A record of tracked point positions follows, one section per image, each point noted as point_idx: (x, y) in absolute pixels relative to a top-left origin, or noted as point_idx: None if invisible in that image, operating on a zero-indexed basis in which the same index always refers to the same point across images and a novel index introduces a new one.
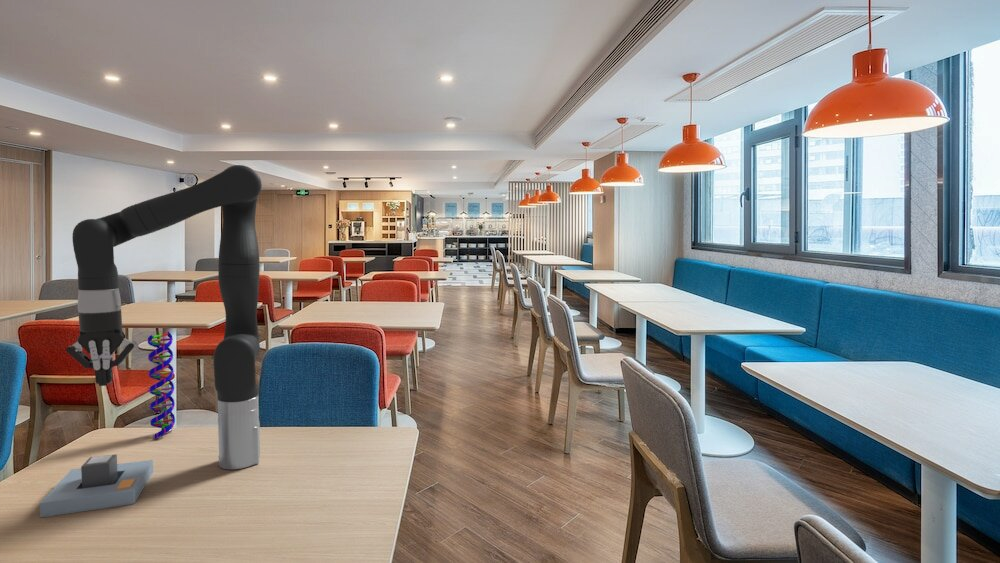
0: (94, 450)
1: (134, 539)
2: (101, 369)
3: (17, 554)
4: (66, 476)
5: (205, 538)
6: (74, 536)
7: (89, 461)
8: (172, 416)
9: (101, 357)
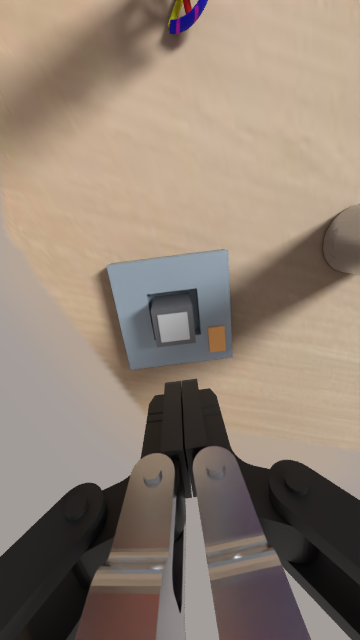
0: (61, 92)
1: (250, 415)
2: (184, 492)
3: None
4: (115, 293)
5: (312, 424)
6: None
7: (161, 332)
8: None
9: (172, 592)
